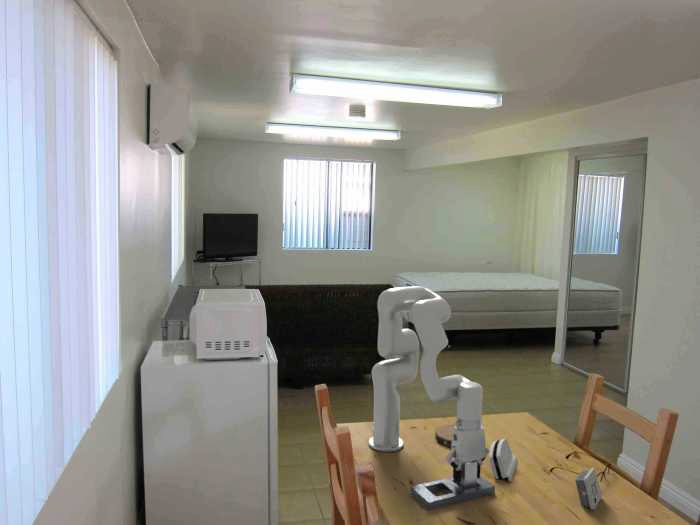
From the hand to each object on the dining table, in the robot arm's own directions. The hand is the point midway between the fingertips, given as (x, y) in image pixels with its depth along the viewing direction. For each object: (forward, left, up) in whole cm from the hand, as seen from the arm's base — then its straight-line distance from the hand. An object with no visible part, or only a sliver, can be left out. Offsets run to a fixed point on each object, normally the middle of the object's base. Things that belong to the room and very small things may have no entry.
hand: (466, 478), depth 174 cm
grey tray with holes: (0, -5, -4) cm, 6 cm away
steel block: (0, 0, -4) cm, 4 cm away
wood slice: (-33, +20, -5) cm, 39 cm away
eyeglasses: (+5, +43, -5) cm, 43 cm away
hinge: (-7, +20, -5) cm, 22 cm away
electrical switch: (+20, +30, -4) cm, 36 cm away
